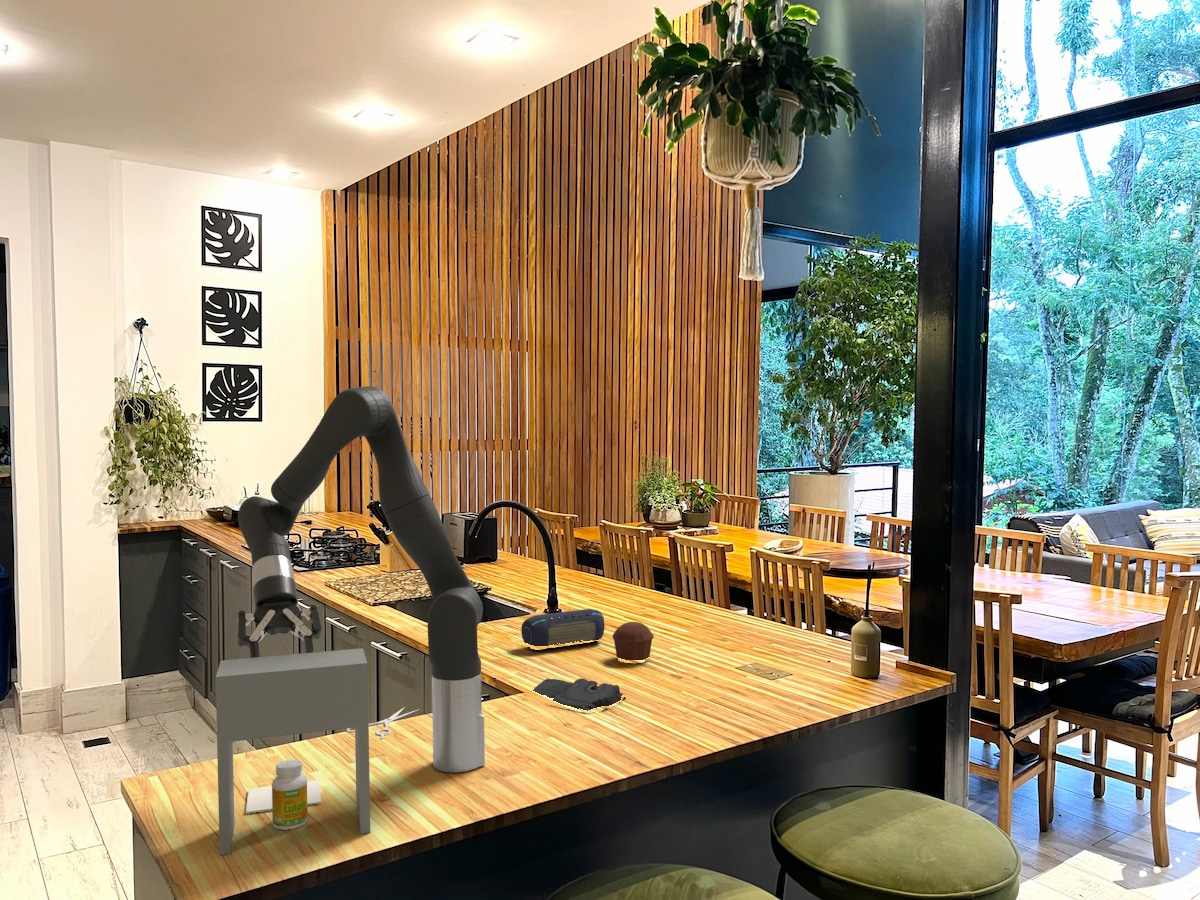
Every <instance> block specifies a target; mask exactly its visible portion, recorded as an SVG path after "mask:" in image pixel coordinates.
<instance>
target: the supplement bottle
mask: <svg viewBox="0 0 1200 900" xmlns="http://www.w3.org/2000/svg"><path fill="white" fill-rule="evenodd" d="M275 773H276V777H275V778H274V779H273V780H272V782H271V786H272V811H271V812H272V814H271V815H272V816H271V817H272V825H273V827H274V828H275V829H277V830H281V831H284V830H285V831H288V829H290V830H294V829H297V828H300V827H302V826H303V825H305V824H306V823H307V822H308V819H309V818H308V815H309V814H308V806H307V782H308V778H307V777H306V775H305V774H304V773H303V762H302V760H299V759H288V760H287V759H285V760H283V761H280V762H279V763H277V764H276V766H275Z"/></svg>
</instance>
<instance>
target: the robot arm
mask: <svg viewBox="0 0 1200 900" xmlns="http://www.w3.org/2000/svg"><path fill="white" fill-rule="evenodd" d="M400 424H401V423H400V422H399V419H398V416H397V413H396V409H395V407H394V405H393V402H392V401H391V399H390V397H389V395H387V393H386V392H385V391H383V389H381V388H379V387H378V386H373V385H369V386H366V385H365V386H359V387H354V388H353V387H352V388H348V389H345V390H342V391H341V392H338V394H337V395H336V396H335V397H334V398H333V399H332V401H331V403H330V404H329V405H328V407H327V409H326V410H325V413H323V416H322V418H321V419H320V421H319V423H318V424H317V426H316V428H315V429H314V431H313V432H312V434H311V435H310V437H309V438H308V440H307V441H306V443H305V444H304V446H303V447H302V448H301V450H300V451H299V452H298V454H297V455H296V456H295V457H294V458H293V459H292V461H290V463H289V464H288V465H287V466H286V467H285V468H284V469H283V471H282V472H281V473H280V474H279V475H278V476H277V478H275V480H274V481H273V483H272V485H271V488H270V493H271V495H272V497H273V499H274V500H272V499H267V498H266V497H261V496H250V497H247V498H246V499H245V500H244V501H243V502H242V503H241V505H240V507H239V510H238V513H237V514H238V515H237V522H238V526H239V530H240V532H241V534H242V537H243V539H244V541H245V543H246V546H247V547H248V549H249V551H250V555H251V566H252V572H251V573H252V574H251V576H252V578H251V580H252V585H251V587H252V590H253V592H252V593H253V600H254V612H252V613H251V612H249V613H246V611H244V610H240V611H238V612H237V645H238V646H239V647H243V646H246V647H248V650H249V658H256V657H261V656H260V647H259V643H260V641H262V640H263V639H264V637H265V636H266V634H268V635H270V636H272V635H273V636H274V635H277V634H283V635H284V634H289V633H292V634H293V635H294V636H295V637H298V638H299V639H300V640H302V645H303V648H302V649H303V653H314V643H313V640H315V639H316V640H317V639H318V640H319V639H320V637H321V633H322V624H321V620H320V616H319V612H318V606H317V605H316V604H311V605H310V606H309V607H307V608H301V607H300V605H299V602H298V594H297V593H298V592H297V588H296V587H297V586H296V585H297V584H296V577H295V572H294V569H293V565H292V559H291V558H292V557H291V553H290V546H289V543H288V540H287V539H286V538H285V536H286V535H288V534H289V533H290V532H291V531H292V529H293V527H294V525H295V522H296V520H297V518H298V515H299V513H300V511H301V509H302V507H303V505H304V504H305V502H306V501H307V500H308V499H309V498H310V497H311V496H312V495H313V494H314V492H315V491H316V490H317V489H318V488H319V487H320V486H321V484H322V483H323V481H324V480H325V478H326V476H327V474H328V471H329V469H330V466H331V464H332V462H333V460H335V457H336V456H338V454H339V453H340V452H341V450H343V449H344V448H345V447H347V446H348V445H349V444H350V443H352V442H353V441H355V439H357V438H362V437H364V438H365V440H366V441H367V444H368V445H369V448H370V450H371V451H372V454H373V456H374V458H375V462H376V466H377V471H378V474H377V475H378V476H377V477H378V494H379V495H378V497H379V503H380V507H381V510H382V512H383V515H384V517H385V519H386V522H387V523H388V526H389V528H390V530H391V531H392V534H393V535H394V537H395V539H396V541H397V542H398V544H399V546H401V548H402V549H403V550H404V551H405V552H406V555H408V556H409V558H410V559H411V560H412V561H413V562H414V564H415V565H416V566H417V567H418V568H419V570H420V572H421V573H422V575H423V577H424V579H425V581H426V584H427V586H428V588H429V591H430V594H431V596H432V599H433V601H432V602H431V604H430V607H429V609H428V613H427V646H428V647H427V649H428V660H429V663H430V666H431V698H432V699H431V702H432V703H431V705H432V706H431V708H432V709H431V710H432V762H433V763H432V765H433V768H434V769H435V770H437V771H440V772H444V773H462V772H463V773H464V772H469V771H471V770H475V769H477V768H480V767H485V765H486V759H485V758H486V756H485V755H486V750H485V748H486V746H485V745H486V743H485V740H486V739H485V715H484V714H483V711H482V706H483V704H482V660H481V658H480V655H479V649H478V626H479V624H480V622H481V621H482V618H483V615H484V608H483V601H482V600H481V598H480V595H479V593H478V592H477V590H476V589H475V586H473V584H472V581H471V580H470V578H469V577H468V575H467V574H466V572H465V570H464V568H463V567H462V565H461V563H460V561H459V560H458V557H457V555H456V553H455V550H454V549H453V546H452V543H451V541H450V538H449V536H448V533H447V531H446V529H445V526H444V523H443V521H442V519H441V516H440V514H439V511H438V509H437V507H436V505H435V504H434V501H433V499H432V497H431V494H430V492H429V490H428V489H427V487H426V485H425V483H424V480H423V479H422V476H421V474H420V471H419V469H418V466H417V465H416V462H415V461H414V458H413V456H412V454H411V451H410V449H409V446H408V444H407V442H406V439H405V436H404V434H403V430H402V428H401V427H402V426H401V425H400ZM302 616H303V617H305V619H306V620H307V621H309V623H310V628H311V629H309V628H308V626H306V625H305V623H304V621H302V620H301V618H302ZM252 621H253V622H254V624H256V625H257V626H256V628H255V630H254V631H253V633H252V634H251V635H246V634H247V632H246V631H247V630H246V628H247V627H248V626H250V623H251V622H252Z"/></svg>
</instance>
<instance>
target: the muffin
mask: <svg viewBox="0 0 1200 900" xmlns="http://www.w3.org/2000/svg"><path fill="white" fill-rule="evenodd" d="M611 636H612V639H613V641H614V642H613V643H614V648H615V655H616V658H617V657H618V658H621V659H625V660H643V659H646V658H648V657H649V658H650V655H651V650H652V642H653V641H652V640H653V639H654V636H655V635H654V634H653V633H652V631H651V630H650V628H649V627H648V626H646V625H645V624H643V623H642V622H639V621H628V622H624V623H623V624H621V625H620V626H619V627H617V628H616V629H615V631H614V632H613V634H612V635H611Z"/></svg>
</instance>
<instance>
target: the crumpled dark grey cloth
mask: <svg viewBox="0 0 1200 900" xmlns="http://www.w3.org/2000/svg"><path fill="white" fill-rule="evenodd" d="M533 689H534V690H533ZM533 689H532V690H533V691H535V692H537V693H539V694H541V695H546V696H547V697H549V698H554V699H553V701H556V702H558V703H560V704H563V705H567V706H571V707H574V708H577V709H579V708H580V709H583V710H587V711H588V710H591V709H593V708H597V707H601V706H609V705H612V704H614V703H616V702H618V701H620V700H621V696H622V695H623V694H624V693H623V692H621V690H620V686H619V685H618V684H616V685H615V684H610V683H605V682H604V683H600V684H598V682H597V681H595V680H588V679H586V678H582V677H581V678H578V679H576V680H574V681H573V682H570V681H566V680H563V679H562V680H561V679H557V678H546V679H544V680H542V681H541V682H540V683H538V684H537V685H536V686H534V688H533Z"/></svg>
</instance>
